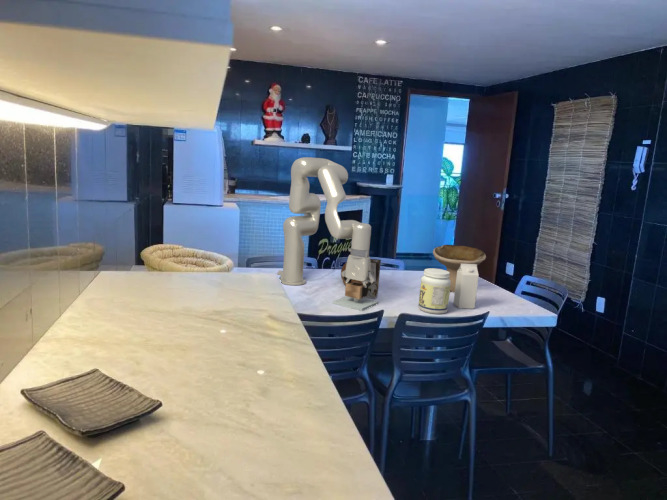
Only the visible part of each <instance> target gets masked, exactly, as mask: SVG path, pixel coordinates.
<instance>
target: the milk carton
mask: <svg viewBox="0 0 667 500" xmlns="http://www.w3.org/2000/svg"><path fill="white" fill-rule="evenodd" d="M478 270H479V269H478V266H477V264H461V266H460V267H459V269H458V270H457V277H456V286H455V292H454V295H453V304H454V305H455V307H456V308H458V309H470V310H473V309H475V308H476V299H477V292H478V284H479V271H478Z"/></svg>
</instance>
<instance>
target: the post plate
mask: <svg viewBox="0 0 667 500" xmlns="http://www.w3.org/2000/svg"><path fill="white" fill-rule="evenodd" d="M332 304H333V305H336V306H342V307H345V308H350V309H352V310H357V311H361V312H363V311H365V310H368V309H370V308H372V307H374V305H375V306H376V304H377V305H379V300H378V301H377V300H375V299H371V298H367V297H364V298H361V299H356V298H352V297H348V296H344V297H342V298H338V299H336V300H333V301H332ZM371 306H372V307H371ZM369 307H370V308H369ZM367 308H368V309H367Z"/></svg>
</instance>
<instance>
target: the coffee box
mask: <svg viewBox="0 0 667 500" xmlns="http://www.w3.org/2000/svg"><path fill="white" fill-rule="evenodd" d="M381 261H382V259H379V258H370V262H371V274H372V276H373V277H374V278H375V281H374V282H373V283H372V284H371V285H370V286H369V287H368V296H366V297H365V298H366V299H373V300H375V299H376V298H377V296H378V295H379V286H380V276H381V275H380V273H381V272H380V271H381ZM368 282H370V279H369V280H368Z"/></svg>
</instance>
